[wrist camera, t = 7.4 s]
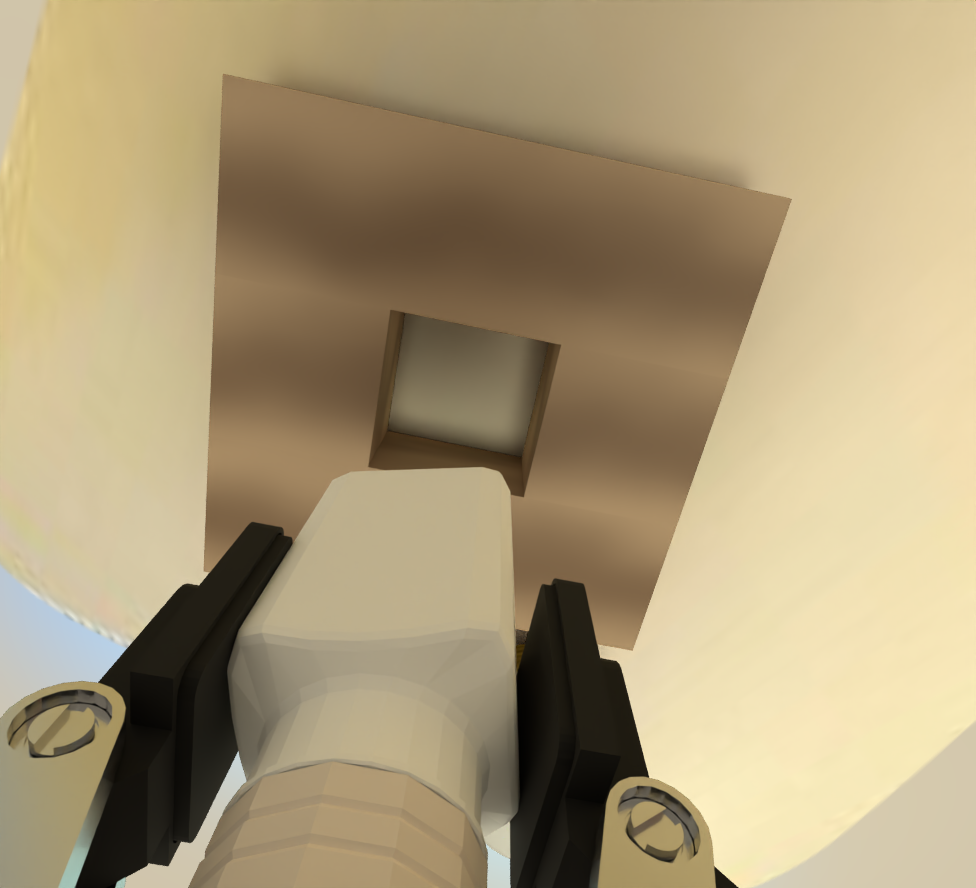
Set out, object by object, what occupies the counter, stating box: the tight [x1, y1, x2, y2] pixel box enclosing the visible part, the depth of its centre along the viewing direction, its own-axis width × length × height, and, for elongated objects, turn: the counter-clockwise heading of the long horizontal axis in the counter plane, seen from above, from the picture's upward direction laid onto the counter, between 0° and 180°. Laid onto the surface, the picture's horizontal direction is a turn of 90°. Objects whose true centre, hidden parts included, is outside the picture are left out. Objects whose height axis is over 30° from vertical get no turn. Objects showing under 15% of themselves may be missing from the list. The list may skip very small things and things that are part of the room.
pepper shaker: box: [188, 467, 520, 888], centre depth 10 cm, size 4×4×10 cm
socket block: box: [204, 74, 792, 651], centre depth 24 cm, size 18×18×4 cm
